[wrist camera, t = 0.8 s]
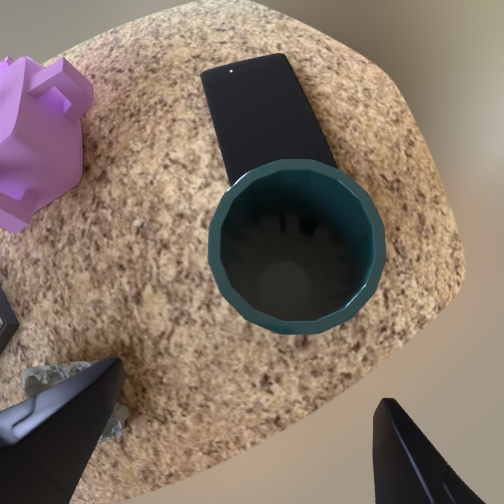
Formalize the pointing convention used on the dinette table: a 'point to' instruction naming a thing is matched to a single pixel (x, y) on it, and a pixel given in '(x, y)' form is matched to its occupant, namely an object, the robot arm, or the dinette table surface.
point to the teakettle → (39, 135)
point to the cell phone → (262, 115)
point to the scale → (6, 321)
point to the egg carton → (53, 374)
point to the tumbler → (296, 247)
